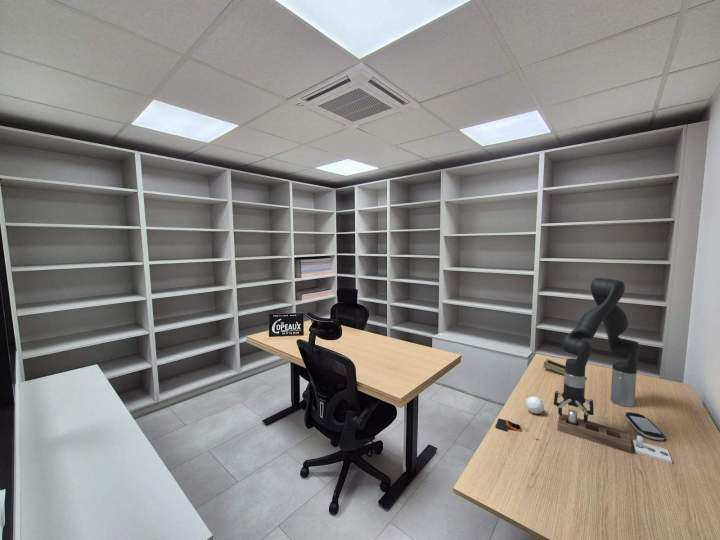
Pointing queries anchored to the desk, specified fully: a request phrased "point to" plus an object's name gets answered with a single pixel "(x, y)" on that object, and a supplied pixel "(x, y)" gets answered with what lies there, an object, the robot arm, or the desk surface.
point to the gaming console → (644, 426)
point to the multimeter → (508, 425)
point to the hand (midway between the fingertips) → (572, 418)
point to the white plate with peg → (651, 450)
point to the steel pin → (572, 417)
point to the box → (555, 366)
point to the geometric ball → (534, 405)
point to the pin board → (596, 433)
